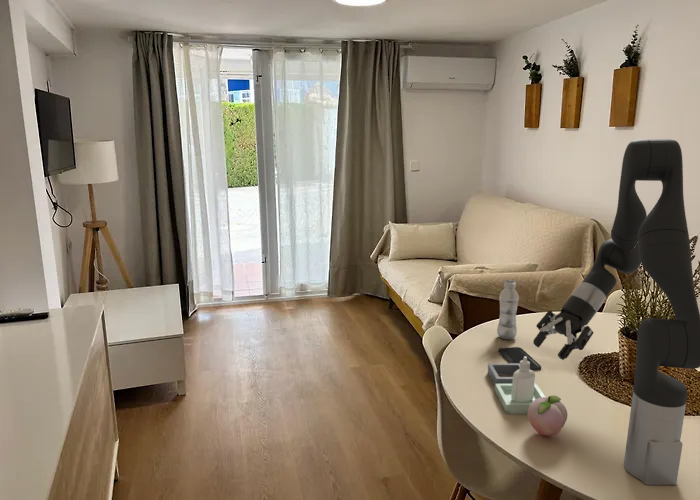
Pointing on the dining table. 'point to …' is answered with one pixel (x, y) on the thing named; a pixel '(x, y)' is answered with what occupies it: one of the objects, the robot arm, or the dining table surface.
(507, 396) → the tray
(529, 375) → the eye dropper bottle
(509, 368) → the grey square tray
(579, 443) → the dining table surface
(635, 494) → the dining table surface
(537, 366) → the phone
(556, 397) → the decorative fruit
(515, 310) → the plastic bottle
